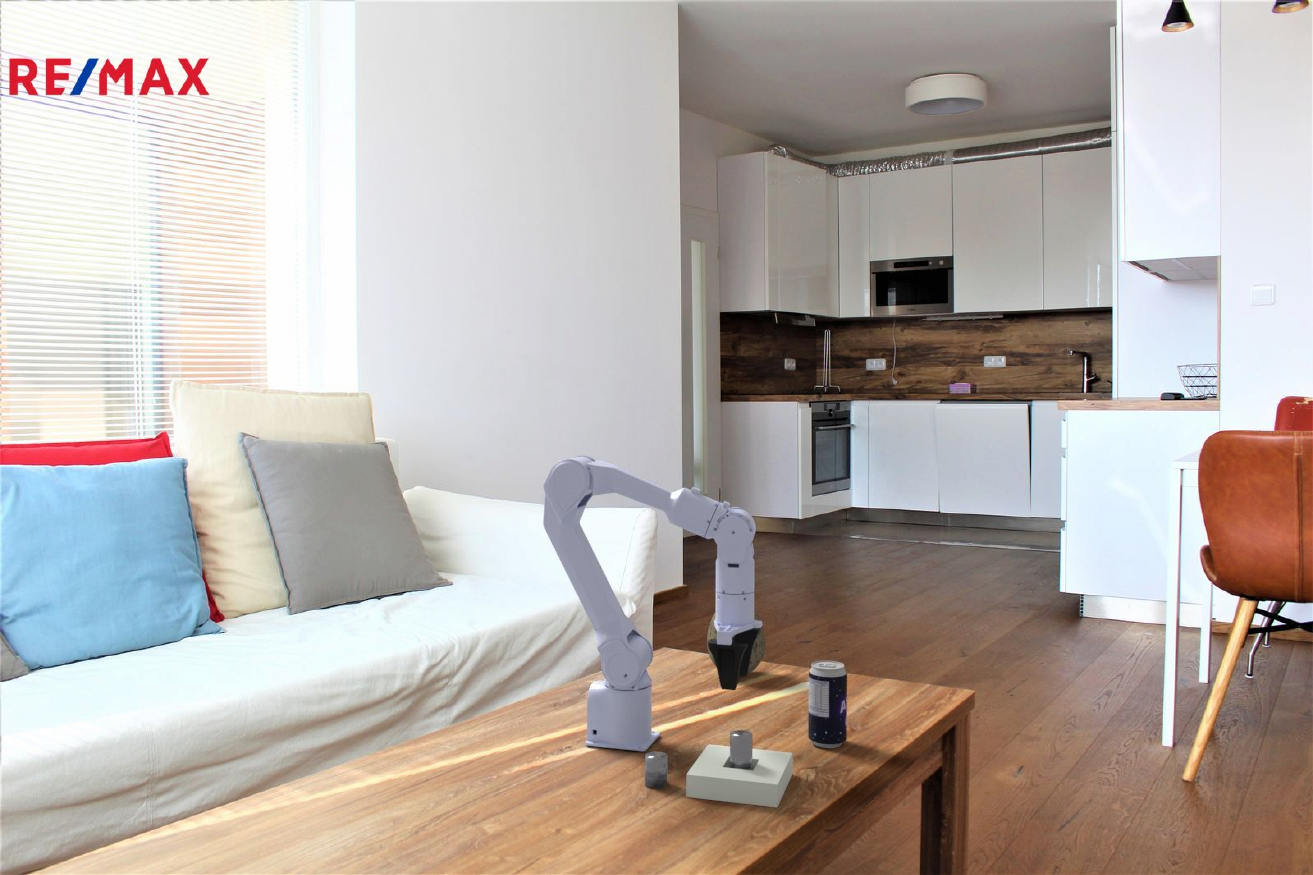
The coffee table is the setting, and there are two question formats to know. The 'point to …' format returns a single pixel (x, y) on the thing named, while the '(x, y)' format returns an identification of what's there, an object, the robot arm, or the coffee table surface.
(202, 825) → the coffee table surface
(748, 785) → the hole block
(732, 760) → the long pin
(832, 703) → the beverage can
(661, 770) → the short pin
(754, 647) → the decorative egg
